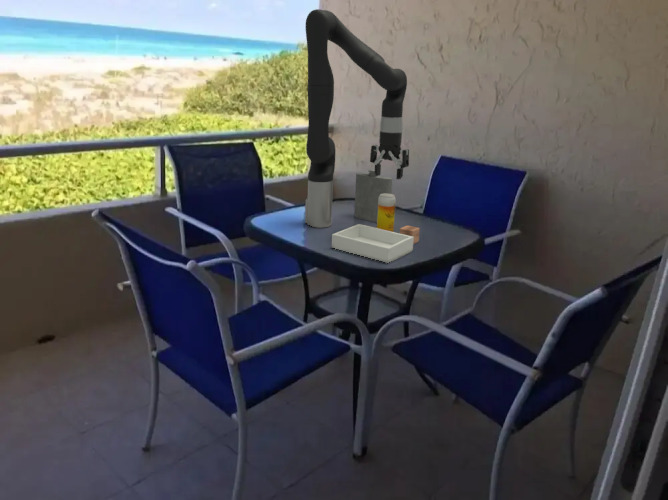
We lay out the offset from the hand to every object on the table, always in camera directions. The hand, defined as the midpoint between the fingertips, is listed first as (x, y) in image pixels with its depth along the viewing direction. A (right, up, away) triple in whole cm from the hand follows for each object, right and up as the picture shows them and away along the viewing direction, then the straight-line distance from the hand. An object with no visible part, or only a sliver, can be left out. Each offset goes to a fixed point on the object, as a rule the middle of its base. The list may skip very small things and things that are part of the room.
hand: (388, 177), depth 202 cm
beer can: (-1, -20, +7) cm, 22 cm away
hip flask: (-4, -14, +26) cm, 30 cm away
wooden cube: (+7, -23, +2) cm, 24 cm away
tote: (-6, -25, -8) cm, 27 cm away
